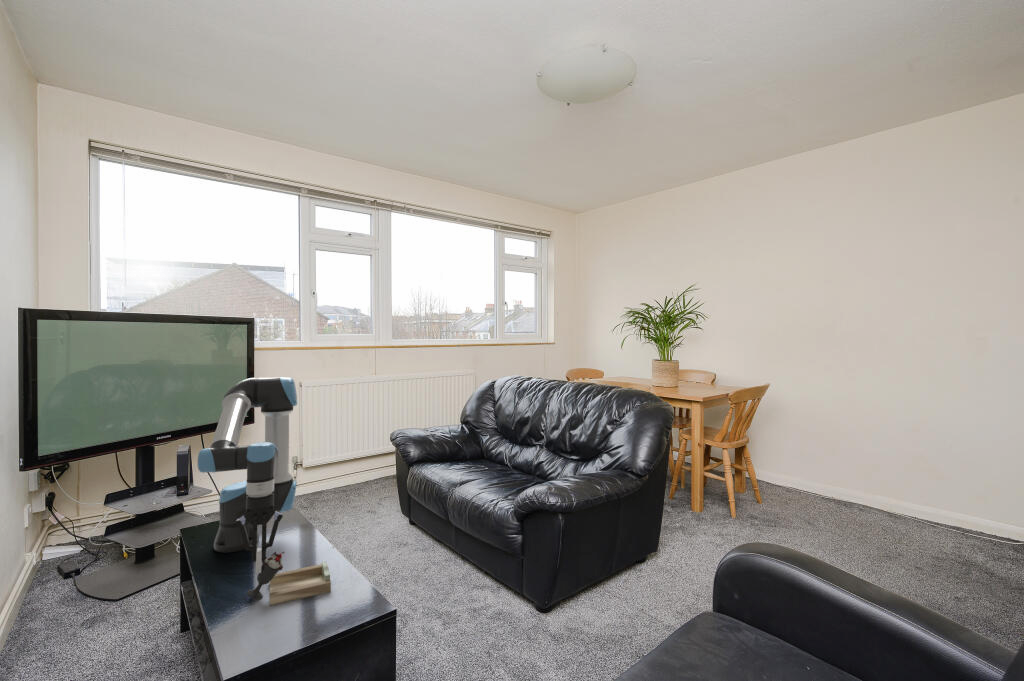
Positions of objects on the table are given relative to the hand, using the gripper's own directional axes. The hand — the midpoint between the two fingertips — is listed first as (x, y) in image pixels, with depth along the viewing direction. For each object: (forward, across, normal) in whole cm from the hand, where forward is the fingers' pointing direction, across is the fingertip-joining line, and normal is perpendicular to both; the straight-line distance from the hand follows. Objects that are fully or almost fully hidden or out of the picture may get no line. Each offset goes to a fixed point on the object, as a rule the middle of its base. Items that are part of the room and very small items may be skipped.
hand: (258, 571), depth 140 cm
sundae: (+8, -1, +1) cm, 8 cm away
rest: (+8, +12, +1) cm, 14 cm away
